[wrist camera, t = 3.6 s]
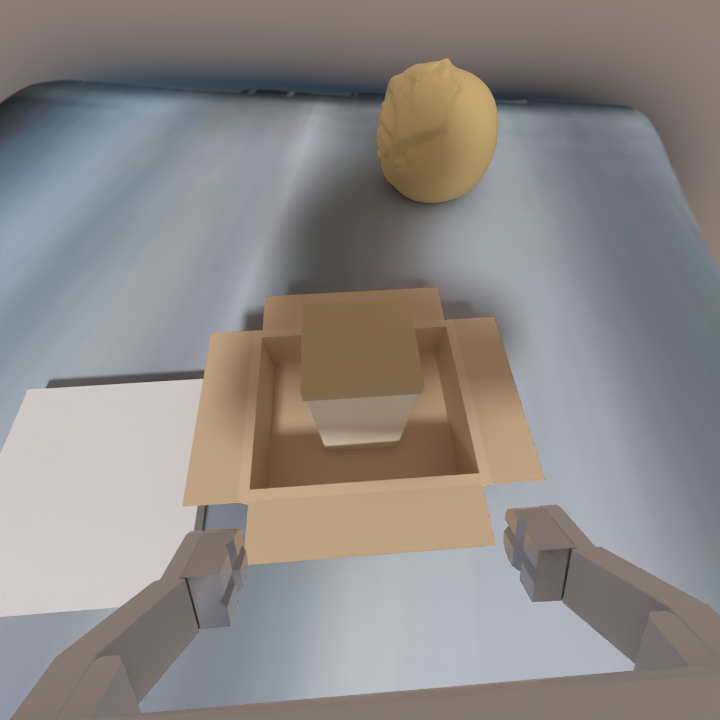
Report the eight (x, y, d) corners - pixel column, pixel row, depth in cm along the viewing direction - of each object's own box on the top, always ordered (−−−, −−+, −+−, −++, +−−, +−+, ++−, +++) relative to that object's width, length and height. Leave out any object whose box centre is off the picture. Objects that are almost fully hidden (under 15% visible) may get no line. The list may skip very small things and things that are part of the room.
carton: (526, 539, 21) (563, 540, 17) (207, 564, 21) (171, 570, 17) (467, 318, 29) (484, 284, 25) (236, 331, 29) (216, 299, 25)
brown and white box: (398, 448, 24) (424, 386, 14) (325, 453, 24) (300, 394, 14) (391, 387, 26) (409, 297, 16) (324, 391, 26) (301, 303, 16)
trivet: (192, 598, 20) (183, 601, 19) (-49, 618, 20) (-73, 622, 18) (222, 384, 26) (216, 377, 25) (41, 395, 26) (27, 389, 25)
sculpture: (371, 155, 41) (374, 39, 31) (469, 152, 41) (501, 36, 32) (377, 219, 35) (384, 103, 26) (489, 216, 36) (536, 99, 26)
